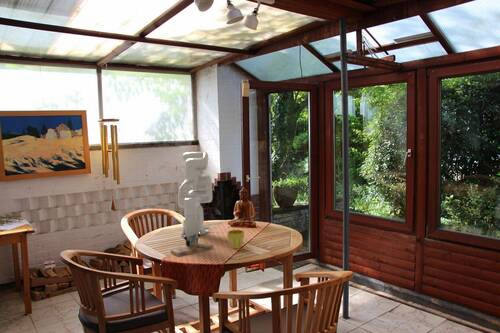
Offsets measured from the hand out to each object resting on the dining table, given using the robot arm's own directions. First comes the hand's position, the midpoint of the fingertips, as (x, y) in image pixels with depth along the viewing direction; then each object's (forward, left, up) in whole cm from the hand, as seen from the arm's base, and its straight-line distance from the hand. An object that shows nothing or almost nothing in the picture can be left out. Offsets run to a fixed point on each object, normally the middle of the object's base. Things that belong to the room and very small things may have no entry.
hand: (192, 245), depth 257 cm
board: (+4, +7, -1) cm, 8 cm away
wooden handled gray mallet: (0, +4, -1) cm, 5 cm away
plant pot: (-21, +19, -2) cm, 28 cm away
